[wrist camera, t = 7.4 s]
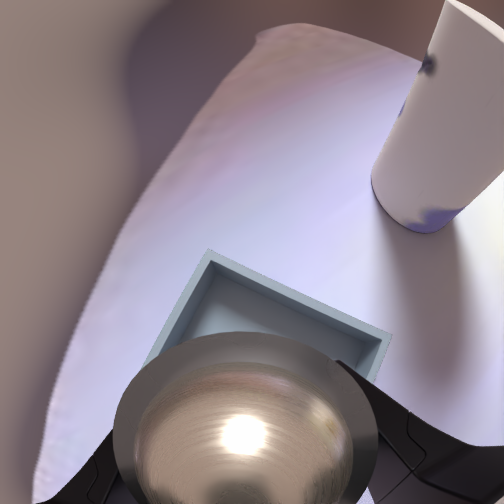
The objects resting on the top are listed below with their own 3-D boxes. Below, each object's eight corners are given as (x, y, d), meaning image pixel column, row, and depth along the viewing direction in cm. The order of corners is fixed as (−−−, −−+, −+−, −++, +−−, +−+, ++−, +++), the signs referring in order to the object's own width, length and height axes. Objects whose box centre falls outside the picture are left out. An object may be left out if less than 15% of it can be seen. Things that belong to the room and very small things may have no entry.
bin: (292, 486, 16) (298, 508, 12) (137, 411, 19) (115, 419, 15) (370, 338, 20) (392, 334, 17) (215, 266, 23) (207, 248, 19)
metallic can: (245, 460, 13) (219, 617, 1) (180, 386, 15) (18, 427, 3) (325, 399, 14) (468, 474, 2) (259, 325, 16) (263, 236, 4)
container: (387, 140, 28) (448, -7, 9) (455, 187, 25) (547, 67, 7) (355, 196, 25) (443, 0, 6) (437, 253, 23) (582, 120, 4)
